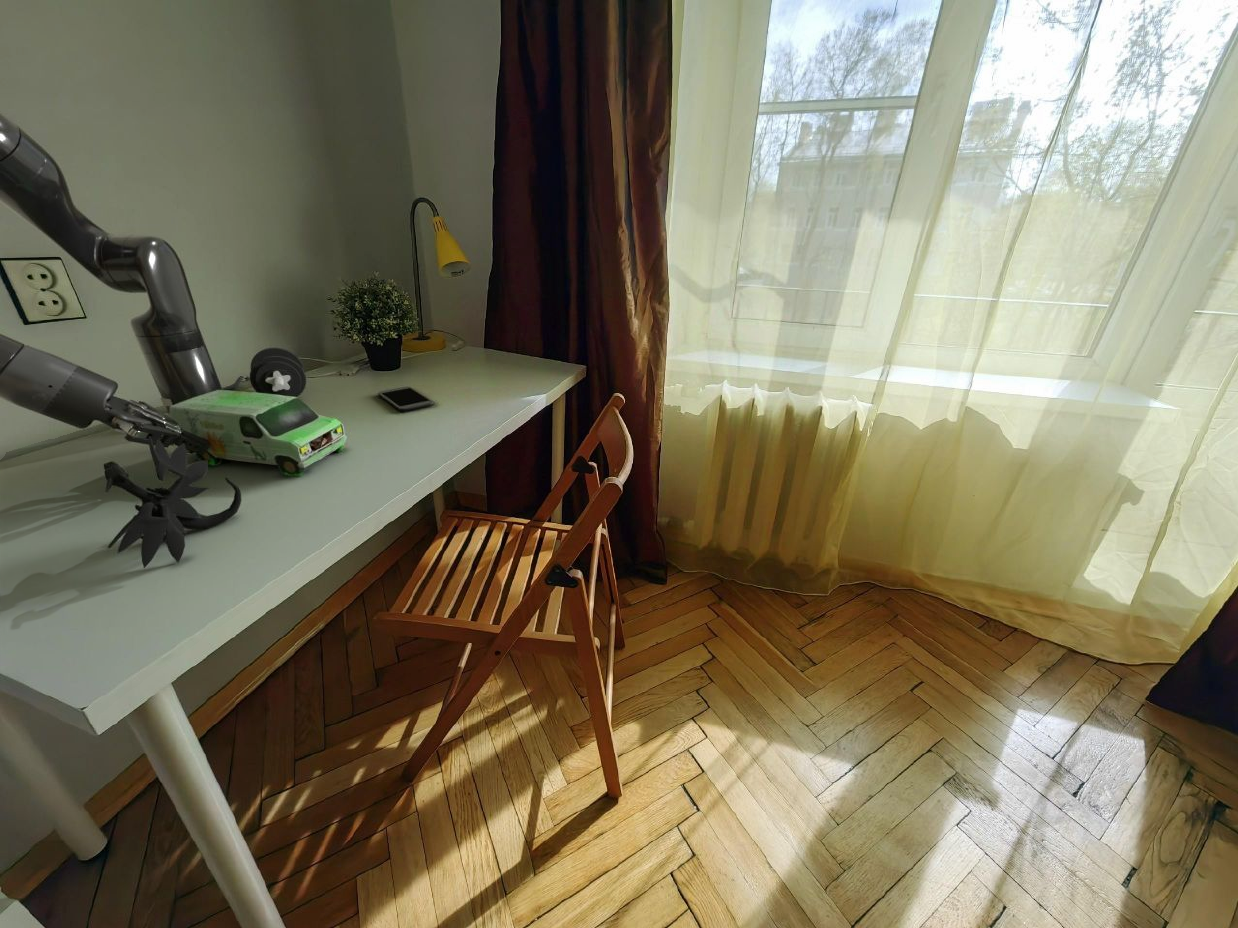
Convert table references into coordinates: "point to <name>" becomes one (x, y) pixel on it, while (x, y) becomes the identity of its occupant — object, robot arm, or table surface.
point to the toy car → (259, 429)
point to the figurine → (165, 504)
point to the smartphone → (405, 398)
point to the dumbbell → (277, 373)
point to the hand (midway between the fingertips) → (206, 448)
